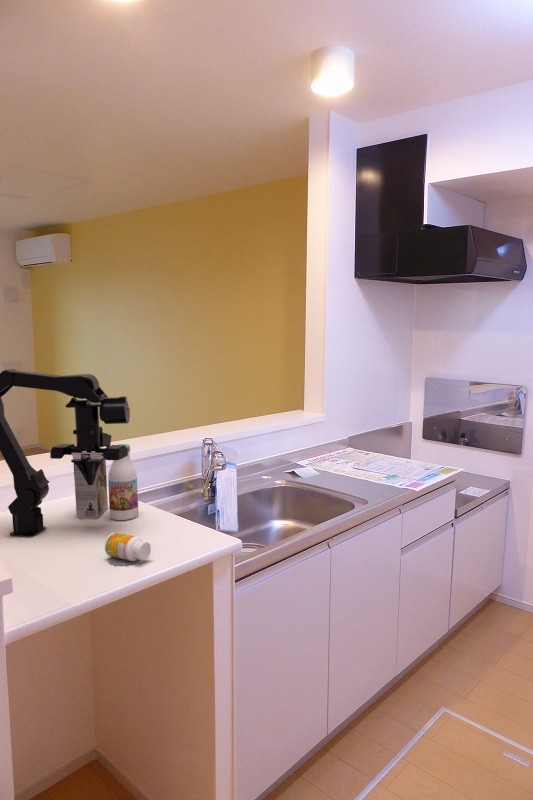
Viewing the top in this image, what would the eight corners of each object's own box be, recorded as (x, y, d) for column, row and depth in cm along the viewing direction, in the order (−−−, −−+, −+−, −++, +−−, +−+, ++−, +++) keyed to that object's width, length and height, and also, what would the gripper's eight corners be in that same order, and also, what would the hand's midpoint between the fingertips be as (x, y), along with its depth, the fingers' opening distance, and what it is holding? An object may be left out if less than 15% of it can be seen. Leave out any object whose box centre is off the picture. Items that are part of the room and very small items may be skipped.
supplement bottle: (121, 530, 136) (154, 537, 132) (118, 554, 136) (151, 561, 131) (105, 532, 132) (138, 539, 127) (102, 557, 131) (135, 565, 127)
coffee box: (86, 508, 170) (83, 454, 168) (108, 508, 169) (106, 454, 167) (75, 519, 160) (72, 461, 158) (99, 518, 160) (96, 461, 158)
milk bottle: (107, 514, 164) (104, 444, 162) (135, 510, 167) (132, 441, 165) (112, 522, 157) (108, 449, 154) (141, 518, 160) (138, 446, 158)
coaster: (102, 566, 129) (102, 564, 129) (117, 553, 136) (117, 551, 136) (134, 568, 127) (134, 567, 127) (147, 555, 134) (147, 554, 134)
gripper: (135, 419, 153) (138, 478, 155) (70, 419, 157) (74, 476, 159) (116, 427, 142) (119, 489, 144) (46, 426, 146) (51, 487, 148)
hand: (90, 485), depth 149 cm, fingers closed
